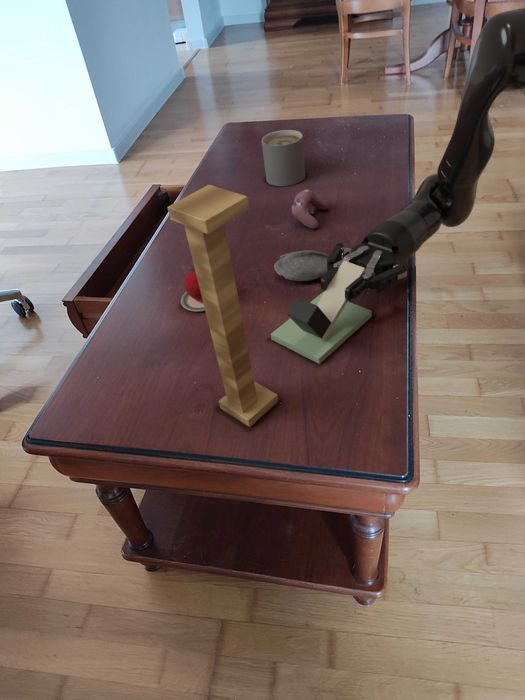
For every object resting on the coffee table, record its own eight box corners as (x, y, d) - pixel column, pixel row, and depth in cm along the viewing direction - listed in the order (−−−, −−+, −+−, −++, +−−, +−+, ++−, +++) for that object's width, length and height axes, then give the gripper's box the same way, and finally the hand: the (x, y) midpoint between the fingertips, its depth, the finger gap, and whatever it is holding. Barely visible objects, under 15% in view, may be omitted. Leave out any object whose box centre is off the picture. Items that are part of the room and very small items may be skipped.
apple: (176, 296, 97) (167, 266, 92) (215, 282, 98) (209, 253, 94) (189, 318, 91) (180, 288, 87) (230, 303, 93) (224, 273, 88)
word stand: (278, 401, 74) (247, 196, 53) (249, 427, 71) (205, 221, 50) (248, 383, 77) (208, 184, 56) (220, 408, 74) (166, 206, 53)
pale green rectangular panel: (371, 316, 85) (371, 310, 84) (319, 364, 78) (319, 358, 78) (323, 296, 91) (323, 291, 90) (271, 339, 84) (270, 334, 83)
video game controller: (313, 214, 117) (298, 187, 114) (330, 206, 114) (315, 179, 111) (301, 236, 110) (284, 208, 107) (319, 228, 108) (302, 200, 105)
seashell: (340, 261, 99) (339, 238, 95) (338, 286, 93) (337, 263, 89) (279, 262, 101) (276, 239, 98) (273, 286, 95) (270, 264, 92)
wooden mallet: (366, 271, 80) (353, 247, 74) (324, 341, 79) (307, 323, 73) (345, 263, 82) (331, 240, 76) (303, 331, 81) (285, 313, 75)
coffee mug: (304, 184, 125) (301, 143, 119) (264, 187, 127) (259, 147, 120) (306, 162, 135) (304, 123, 129) (269, 165, 137) (264, 126, 130)
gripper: (360, 210, 89) (297, 256, 81) (436, 231, 81) (374, 285, 72) (360, 247, 94) (300, 294, 86) (431, 271, 86) (373, 326, 77)
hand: (334, 290), depth 79 cm, fingers closed on wooden mallet, 4 cm apart
